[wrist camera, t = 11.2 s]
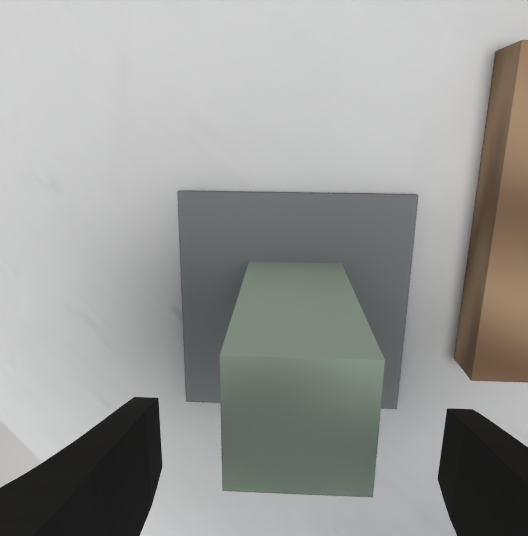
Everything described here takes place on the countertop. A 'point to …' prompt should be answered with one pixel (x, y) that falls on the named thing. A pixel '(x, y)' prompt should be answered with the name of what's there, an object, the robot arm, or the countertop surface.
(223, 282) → the slate mat
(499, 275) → the pocket holder
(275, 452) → the sage block
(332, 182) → the countertop surface
